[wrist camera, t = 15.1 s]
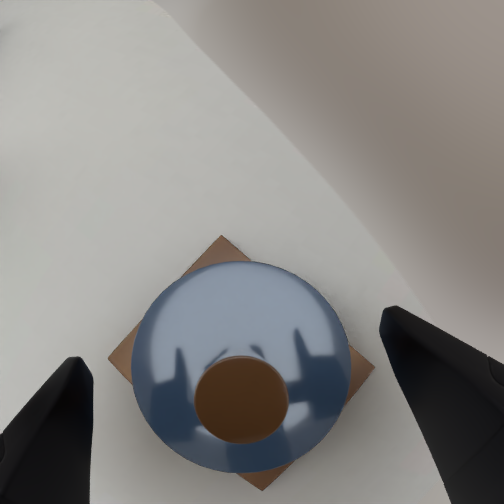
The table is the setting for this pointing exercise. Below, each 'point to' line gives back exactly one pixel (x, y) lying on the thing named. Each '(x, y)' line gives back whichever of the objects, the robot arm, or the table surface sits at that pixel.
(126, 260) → the table surface
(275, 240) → the table surface
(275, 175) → the table surface
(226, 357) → the lid
